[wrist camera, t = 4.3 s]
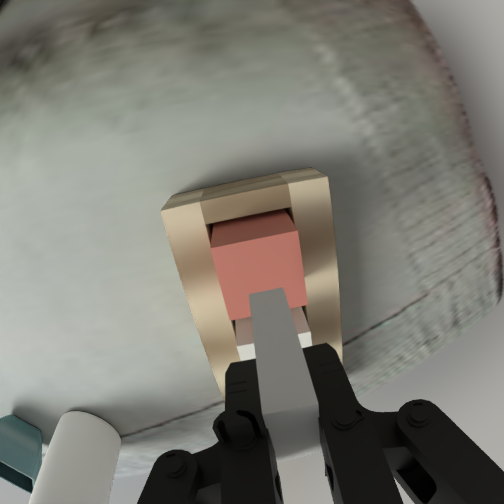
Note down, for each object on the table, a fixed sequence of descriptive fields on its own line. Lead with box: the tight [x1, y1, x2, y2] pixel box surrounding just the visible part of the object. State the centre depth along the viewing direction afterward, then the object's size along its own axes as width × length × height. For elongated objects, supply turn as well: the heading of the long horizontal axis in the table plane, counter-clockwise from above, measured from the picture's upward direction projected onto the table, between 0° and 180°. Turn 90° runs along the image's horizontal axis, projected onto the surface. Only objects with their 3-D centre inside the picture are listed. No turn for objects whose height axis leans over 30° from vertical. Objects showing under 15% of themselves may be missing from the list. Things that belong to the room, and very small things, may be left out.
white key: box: [235, 306, 312, 361], centre depth 22 cm, size 4×4×5 cm
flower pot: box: [0, 415, 42, 494], centre depth 28 cm, size 9×9×9 cm
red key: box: [210, 208, 308, 321], centre depth 20 cm, size 4×4×5 cm
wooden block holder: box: [160, 167, 343, 402], centre depth 24 cm, size 21×10×4 cm, turn 11°
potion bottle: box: [28, 411, 121, 504], centre depth 24 cm, size 8×8×18 cm
